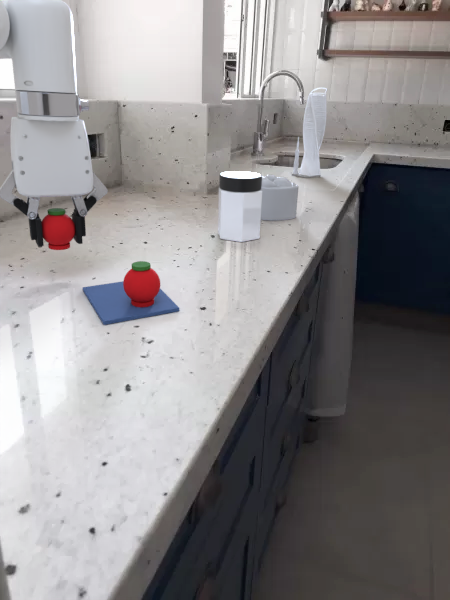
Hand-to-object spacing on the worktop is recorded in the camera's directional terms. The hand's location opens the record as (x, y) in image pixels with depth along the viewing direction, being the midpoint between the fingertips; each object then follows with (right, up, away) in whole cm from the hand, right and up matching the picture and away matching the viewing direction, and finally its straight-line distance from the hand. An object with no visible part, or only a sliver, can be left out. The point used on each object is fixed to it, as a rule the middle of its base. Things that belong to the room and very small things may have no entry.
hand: (59, 241), depth 70 cm
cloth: (+11, -8, -4) cm, 14 cm away
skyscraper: (+53, +34, +97) cm, 115 cm away
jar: (+27, +4, +27) cm, 38 cm away
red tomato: (0, -1, 0) cm, 1 cm away
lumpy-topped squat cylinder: (+34, +11, +43) cm, 56 cm away
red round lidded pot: (+13, -9, -5) cm, 17 cm away
